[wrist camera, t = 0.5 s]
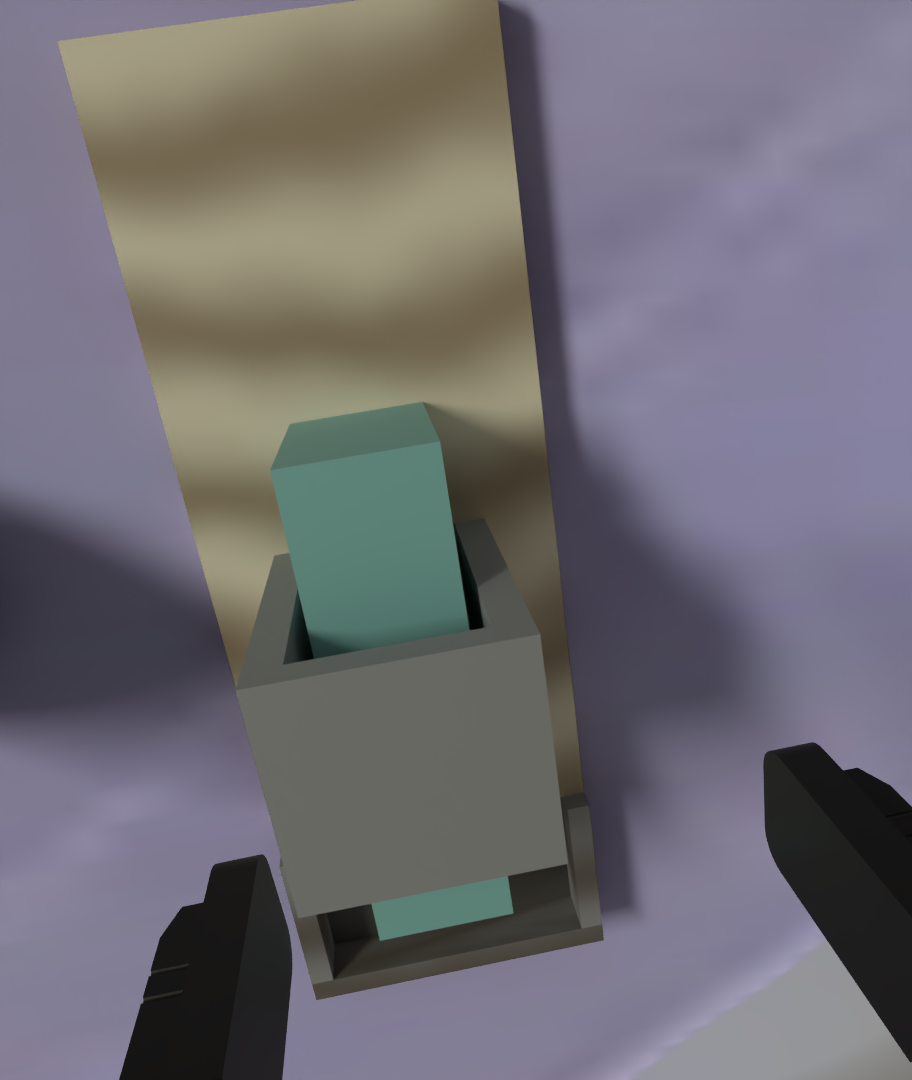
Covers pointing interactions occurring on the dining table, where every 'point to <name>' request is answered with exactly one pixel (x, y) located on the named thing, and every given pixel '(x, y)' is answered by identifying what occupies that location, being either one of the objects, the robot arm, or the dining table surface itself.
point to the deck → (341, 332)
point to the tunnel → (405, 746)
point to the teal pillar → (378, 575)
